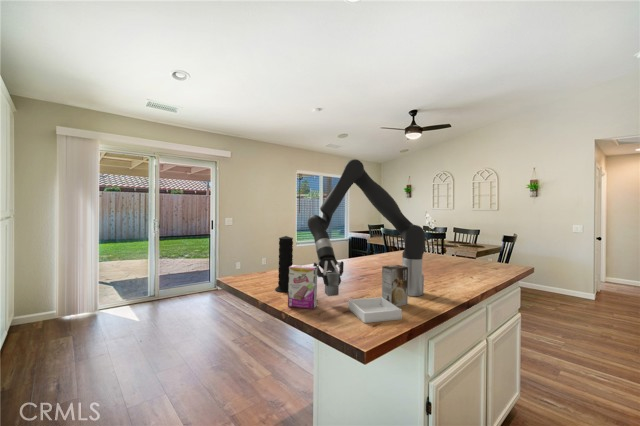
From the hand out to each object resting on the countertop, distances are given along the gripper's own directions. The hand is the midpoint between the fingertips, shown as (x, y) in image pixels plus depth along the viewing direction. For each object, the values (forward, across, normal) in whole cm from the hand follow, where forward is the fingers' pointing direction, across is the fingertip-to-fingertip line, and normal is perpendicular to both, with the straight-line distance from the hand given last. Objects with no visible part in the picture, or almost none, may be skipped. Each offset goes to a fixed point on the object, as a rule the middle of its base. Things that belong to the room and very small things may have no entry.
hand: (333, 284), depth 115 cm
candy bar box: (+5, -12, +8) cm, 16 cm away
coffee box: (+9, +27, +5) cm, 29 cm away
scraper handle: (+2, 0, +5) cm, 5 cm away
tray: (+15, +13, -1) cm, 19 cm away
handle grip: (-13, -15, +26) cm, 33 cm away
